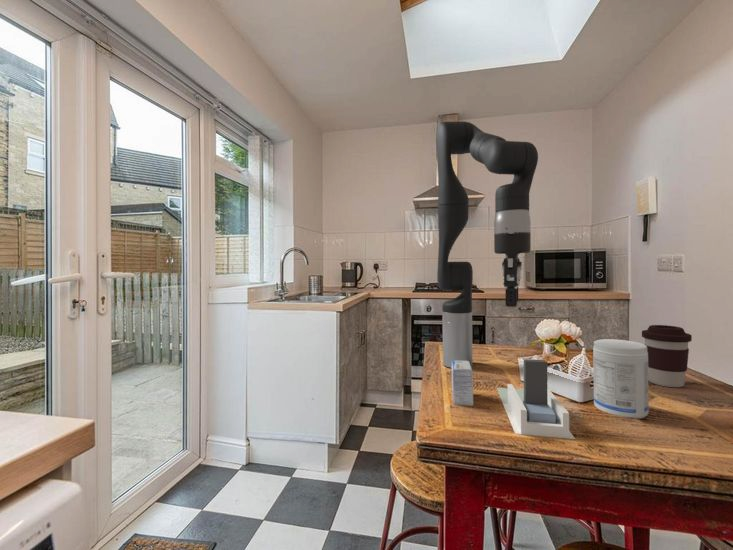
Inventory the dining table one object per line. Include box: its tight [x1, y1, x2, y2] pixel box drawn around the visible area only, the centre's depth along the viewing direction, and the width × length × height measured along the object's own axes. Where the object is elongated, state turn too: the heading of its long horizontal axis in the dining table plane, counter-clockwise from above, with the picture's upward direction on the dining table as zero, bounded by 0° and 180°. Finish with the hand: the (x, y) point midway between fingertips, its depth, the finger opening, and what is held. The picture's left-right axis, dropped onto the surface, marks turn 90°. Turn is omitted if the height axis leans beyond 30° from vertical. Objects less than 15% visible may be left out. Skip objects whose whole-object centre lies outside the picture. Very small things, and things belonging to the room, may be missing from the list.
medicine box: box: [451, 360, 474, 406], centre depth 81 cm, size 8×4×9 cm, turn 168°
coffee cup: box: [641, 324, 693, 388], centre depth 91 cm, size 10×10×15 cm
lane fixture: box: [496, 383, 576, 440], centre depth 75 cm, size 25×10×5 cm, turn 167°
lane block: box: [523, 358, 556, 424], centre depth 67 cm, size 6×4×12 cm
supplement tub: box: [592, 338, 649, 420], centre depth 74 cm, size 10×10×15 cm
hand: (512, 304), depth 78 cm, fingers open, 8 cm apart
